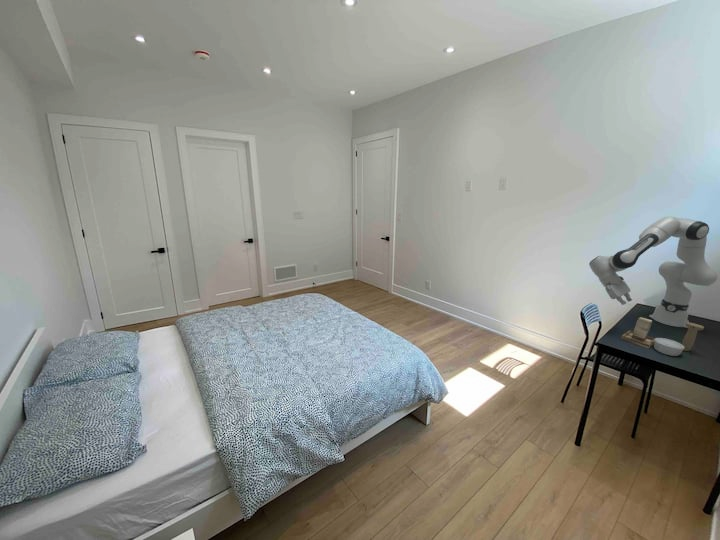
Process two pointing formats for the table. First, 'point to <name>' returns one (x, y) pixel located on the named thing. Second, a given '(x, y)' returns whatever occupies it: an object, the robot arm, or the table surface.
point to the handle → (691, 335)
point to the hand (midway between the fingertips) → (627, 302)
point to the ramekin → (668, 346)
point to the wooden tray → (628, 337)
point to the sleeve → (641, 329)
